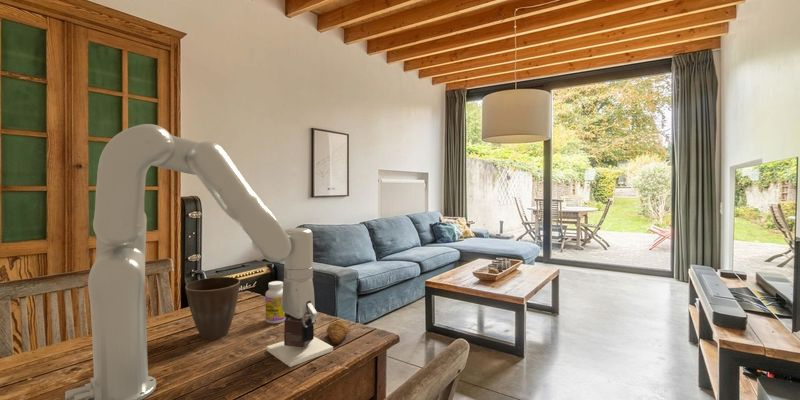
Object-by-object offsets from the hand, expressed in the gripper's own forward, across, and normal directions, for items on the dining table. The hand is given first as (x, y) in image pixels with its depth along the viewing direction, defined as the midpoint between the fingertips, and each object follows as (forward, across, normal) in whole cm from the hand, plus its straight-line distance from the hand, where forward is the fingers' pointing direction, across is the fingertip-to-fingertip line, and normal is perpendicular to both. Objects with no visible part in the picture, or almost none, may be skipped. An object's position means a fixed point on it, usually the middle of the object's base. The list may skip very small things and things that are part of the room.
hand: (299, 335), depth 105 cm
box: (+2, 0, 0) cm, 2 cm away
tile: (+4, 0, 0) cm, 4 cm away
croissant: (+5, -1, +14) cm, 14 cm away
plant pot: (+5, -28, -13) cm, 31 cm away
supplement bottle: (+5, -26, +6) cm, 27 cm away
